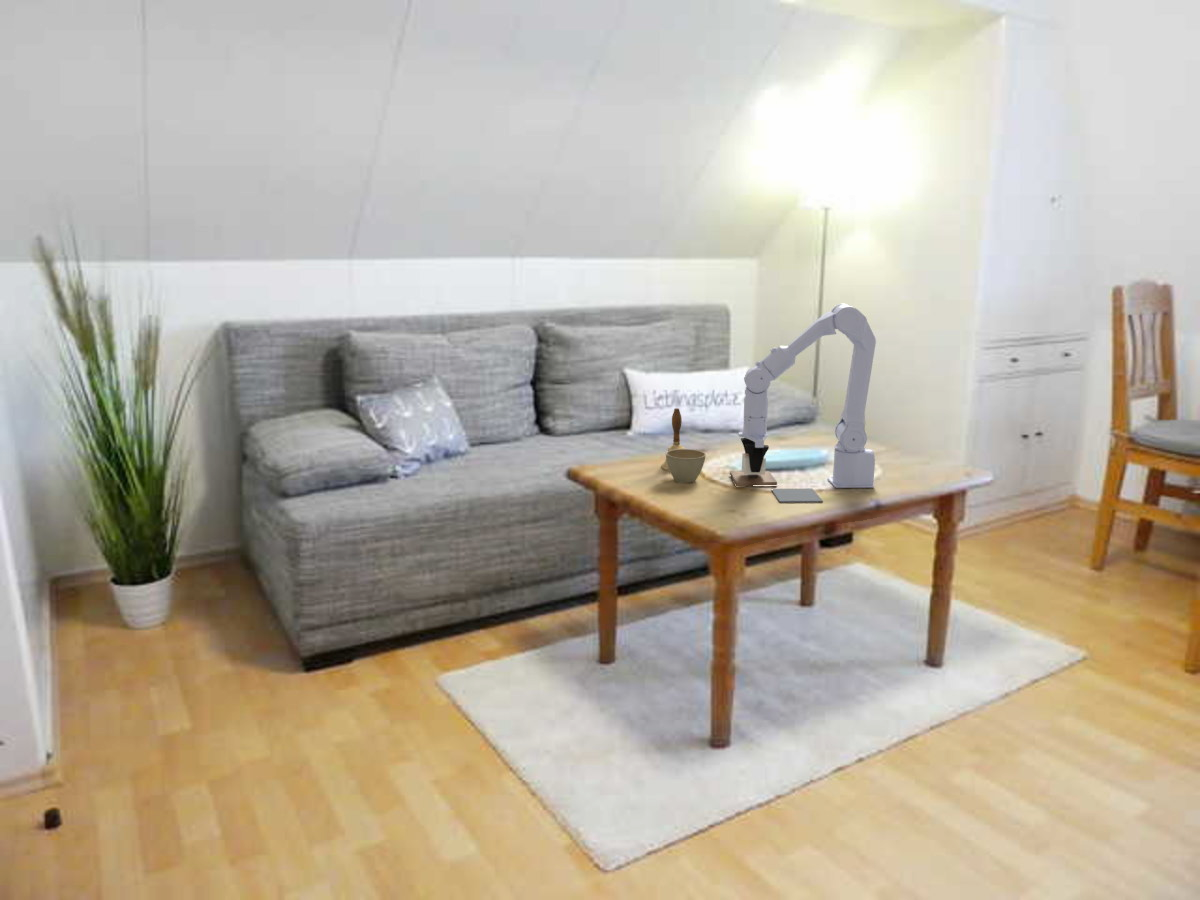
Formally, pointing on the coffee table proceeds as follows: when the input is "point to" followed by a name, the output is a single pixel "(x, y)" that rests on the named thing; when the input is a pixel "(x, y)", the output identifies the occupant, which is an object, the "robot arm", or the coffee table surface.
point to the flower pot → (685, 464)
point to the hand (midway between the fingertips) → (753, 468)
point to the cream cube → (746, 466)
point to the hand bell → (675, 435)
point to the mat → (797, 495)
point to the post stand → (752, 479)
